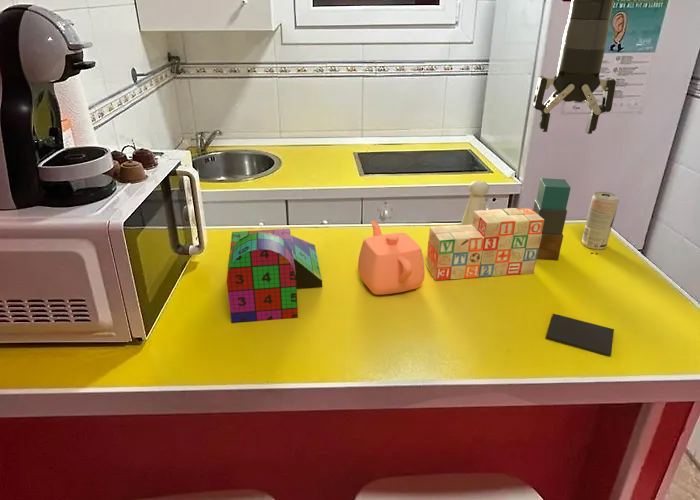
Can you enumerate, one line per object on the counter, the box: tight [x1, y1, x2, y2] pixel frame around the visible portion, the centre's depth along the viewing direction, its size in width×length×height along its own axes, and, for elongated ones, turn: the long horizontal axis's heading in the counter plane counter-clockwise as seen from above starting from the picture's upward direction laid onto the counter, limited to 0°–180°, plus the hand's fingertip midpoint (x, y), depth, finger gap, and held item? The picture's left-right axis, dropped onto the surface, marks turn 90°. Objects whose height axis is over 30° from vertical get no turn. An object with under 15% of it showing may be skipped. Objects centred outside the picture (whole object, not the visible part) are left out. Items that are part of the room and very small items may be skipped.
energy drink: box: [581, 191, 619, 251], centre depth 116 cm, size 5×5×12 cm
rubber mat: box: [545, 313, 615, 358], centre depth 88 cm, size 10×8×1 cm
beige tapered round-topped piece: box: [460, 180, 489, 225], centre depth 120 cm, size 6×6×13 cm
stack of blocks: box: [425, 207, 544, 281], centre depth 105 cm, size 21×6×12 cm, turn 100°
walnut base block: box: [536, 233, 564, 261], centre depth 113 cm, size 6×6×6 cm
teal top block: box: [536, 177, 572, 210], centre depth 108 cm, size 5×5×5 cm
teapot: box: [357, 219, 426, 296], centre depth 101 cm, size 12×18×10 cm, turn 19°
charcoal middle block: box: [532, 199, 568, 235], centre depth 111 cm, size 6×6×6 cm
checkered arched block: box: [226, 228, 323, 324], centre depth 99 cm, size 25×17×14 cm
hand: (566, 132), depth 103 cm, fingers open, 8 cm apart
